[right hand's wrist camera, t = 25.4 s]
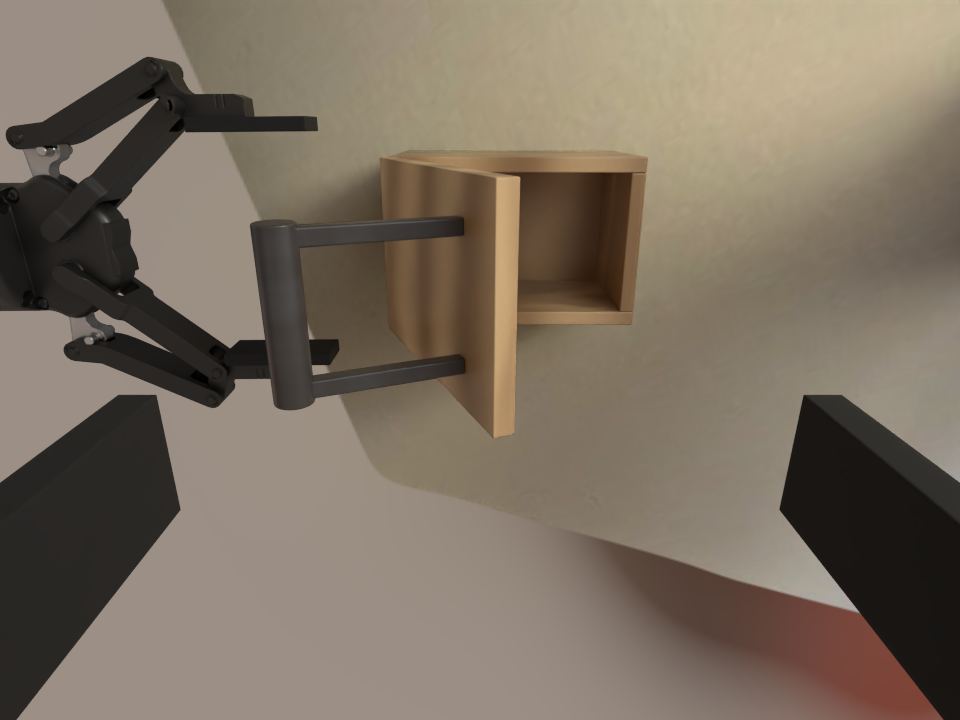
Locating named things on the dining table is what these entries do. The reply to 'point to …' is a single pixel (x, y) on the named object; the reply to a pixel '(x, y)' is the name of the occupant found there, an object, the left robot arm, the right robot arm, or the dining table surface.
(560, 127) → the dining table surface
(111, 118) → the left robot arm
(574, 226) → the chest
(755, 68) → the dining table surface
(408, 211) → the lid
